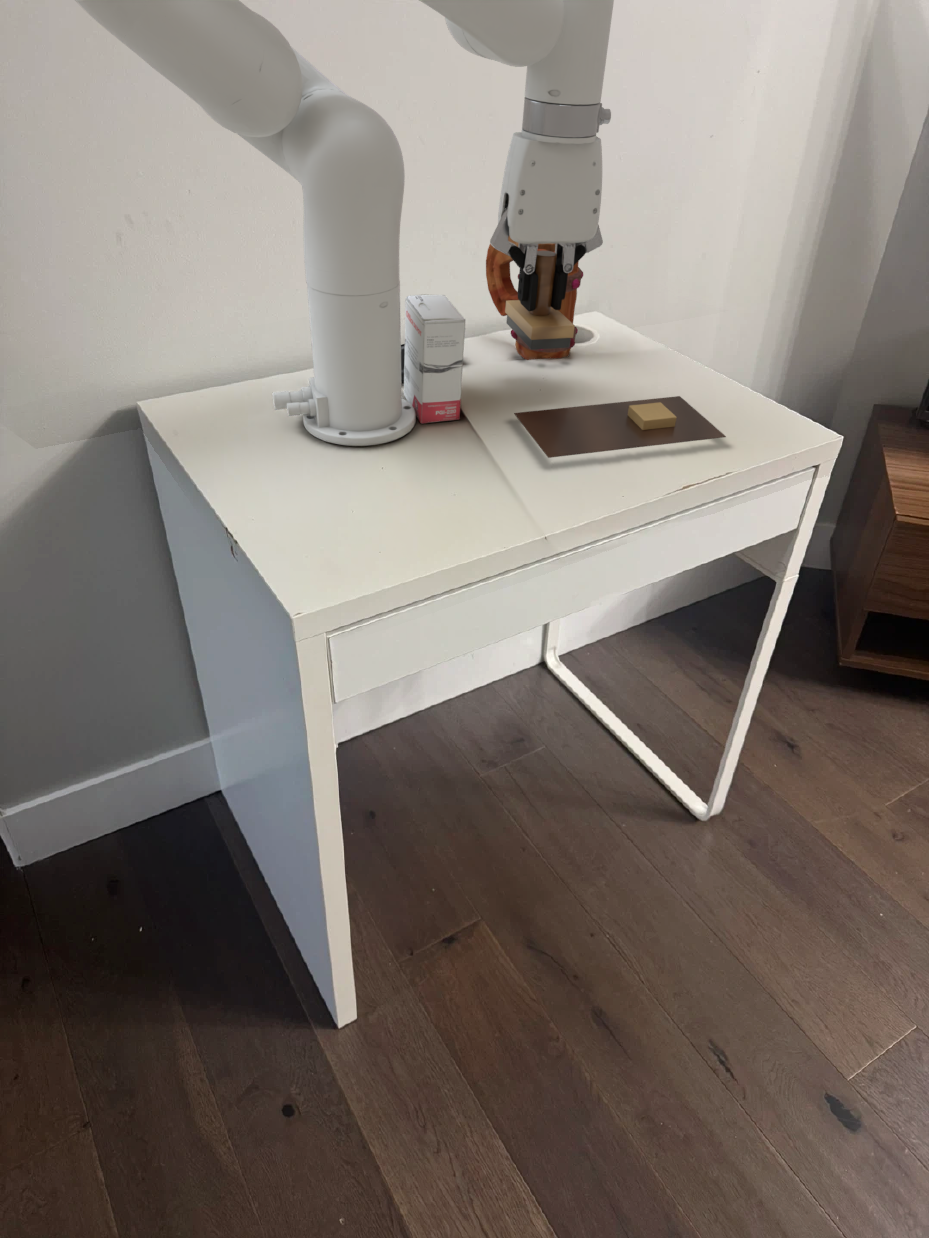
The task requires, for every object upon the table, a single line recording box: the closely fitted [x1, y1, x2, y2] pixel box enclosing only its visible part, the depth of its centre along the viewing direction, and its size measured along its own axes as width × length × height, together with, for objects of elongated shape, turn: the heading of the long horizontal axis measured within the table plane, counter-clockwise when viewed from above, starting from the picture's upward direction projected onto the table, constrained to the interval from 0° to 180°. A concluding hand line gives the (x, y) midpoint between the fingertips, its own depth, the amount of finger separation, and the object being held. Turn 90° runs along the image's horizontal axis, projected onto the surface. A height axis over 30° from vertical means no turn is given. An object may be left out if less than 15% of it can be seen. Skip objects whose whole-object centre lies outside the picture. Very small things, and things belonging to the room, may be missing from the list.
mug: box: [485, 235, 584, 361], centre depth 113 cm, size 15×8×15 cm, turn 46°
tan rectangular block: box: [628, 402, 677, 430], centre depth 99 cm, size 4×4×1 cm
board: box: [514, 395, 727, 459], centre depth 99 cm, size 21×11×1 cm, turn 107°
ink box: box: [403, 293, 466, 424], centre depth 99 cm, size 9×5×12 cm, turn 17°
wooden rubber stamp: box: [505, 251, 576, 350], centre depth 98 cm, size 5×9×9 cm, turn 17°
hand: (540, 305), depth 99 cm, fingers closed on wooden rubber stamp, 2 cm apart
